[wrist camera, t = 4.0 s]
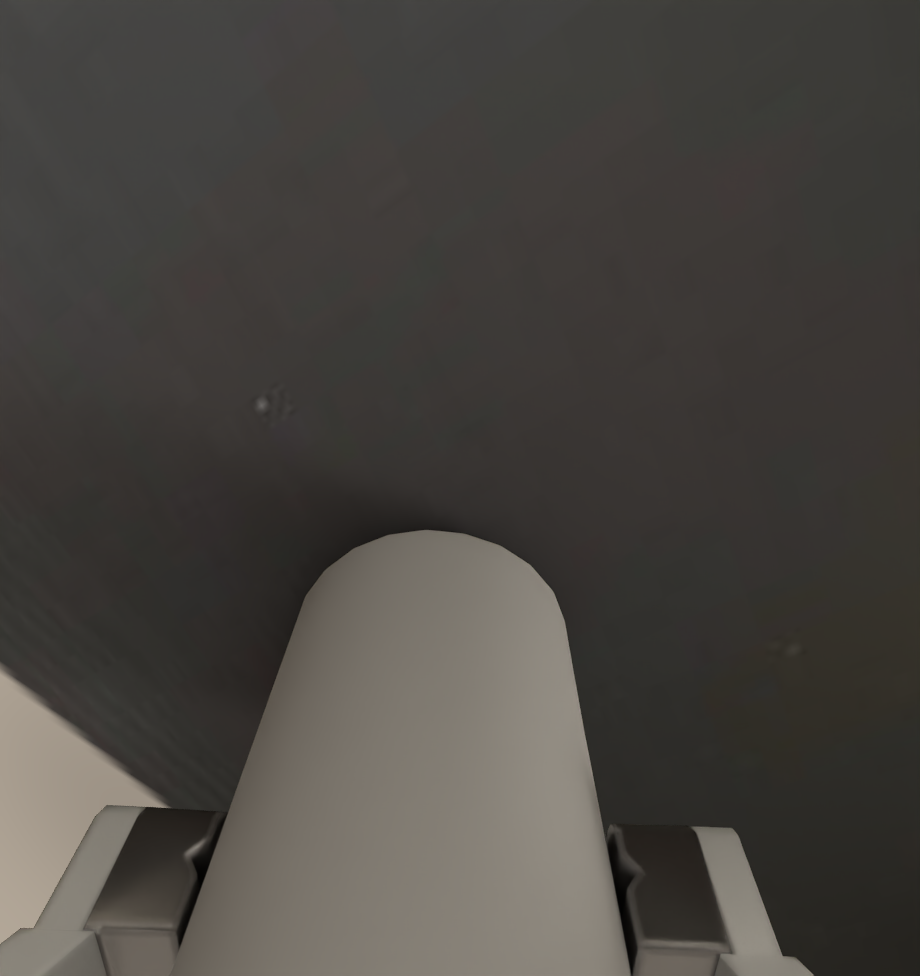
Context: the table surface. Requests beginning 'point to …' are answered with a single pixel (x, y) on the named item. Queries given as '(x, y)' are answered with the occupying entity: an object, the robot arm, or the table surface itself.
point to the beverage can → (416, 785)
